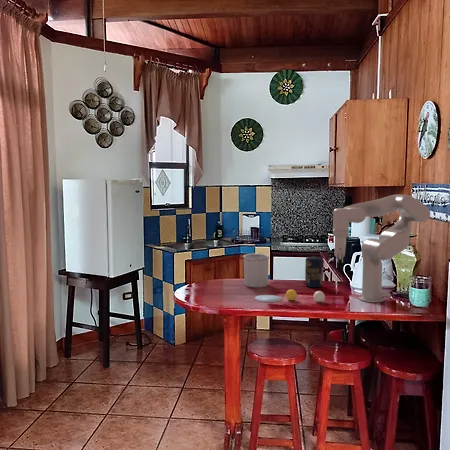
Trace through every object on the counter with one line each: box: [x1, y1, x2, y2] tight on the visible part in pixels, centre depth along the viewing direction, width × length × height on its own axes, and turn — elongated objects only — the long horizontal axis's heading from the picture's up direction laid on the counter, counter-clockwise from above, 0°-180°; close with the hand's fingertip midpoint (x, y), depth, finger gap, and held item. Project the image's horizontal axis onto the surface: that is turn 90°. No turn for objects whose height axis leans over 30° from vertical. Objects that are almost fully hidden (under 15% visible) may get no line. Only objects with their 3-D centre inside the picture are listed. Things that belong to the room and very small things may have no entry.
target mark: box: [254, 294, 283, 303], centre depth 235 cm, size 14×14×1 cm
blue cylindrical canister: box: [304, 255, 323, 288], centre depth 261 cm, size 10×10×18 cm
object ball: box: [285, 289, 298, 301], centre depth 232 cm, size 6×6×6 cm
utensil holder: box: [243, 253, 270, 288], centre depth 265 cm, size 15×15×18 cm
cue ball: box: [313, 290, 326, 303], centre depth 228 cm, size 6×6×6 cm
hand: (340, 269), depth 224 cm, fingers closed
